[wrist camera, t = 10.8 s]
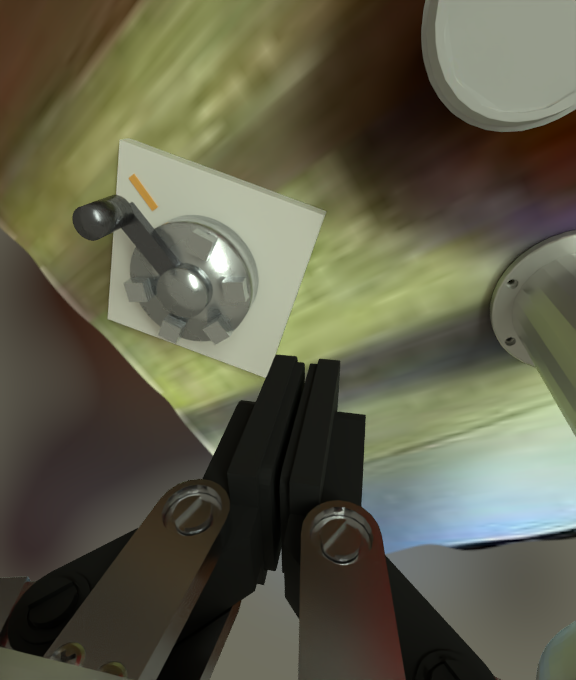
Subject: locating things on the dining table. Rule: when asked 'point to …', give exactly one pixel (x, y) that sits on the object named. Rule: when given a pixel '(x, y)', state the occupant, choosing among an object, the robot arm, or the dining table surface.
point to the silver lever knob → (180, 269)
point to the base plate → (238, 214)
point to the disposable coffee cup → (502, 60)
